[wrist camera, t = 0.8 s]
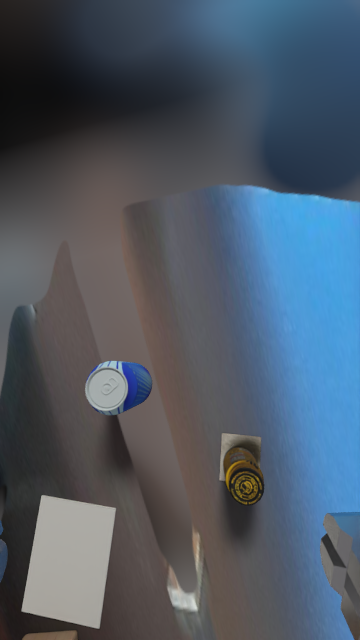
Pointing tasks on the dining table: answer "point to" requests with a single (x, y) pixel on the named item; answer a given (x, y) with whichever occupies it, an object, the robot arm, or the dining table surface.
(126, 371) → the beer can
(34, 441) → the dining table surface
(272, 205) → the dining table surface
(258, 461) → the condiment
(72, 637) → the wooden block
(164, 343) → the dining table surface
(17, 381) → the dining table surface
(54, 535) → the mat
